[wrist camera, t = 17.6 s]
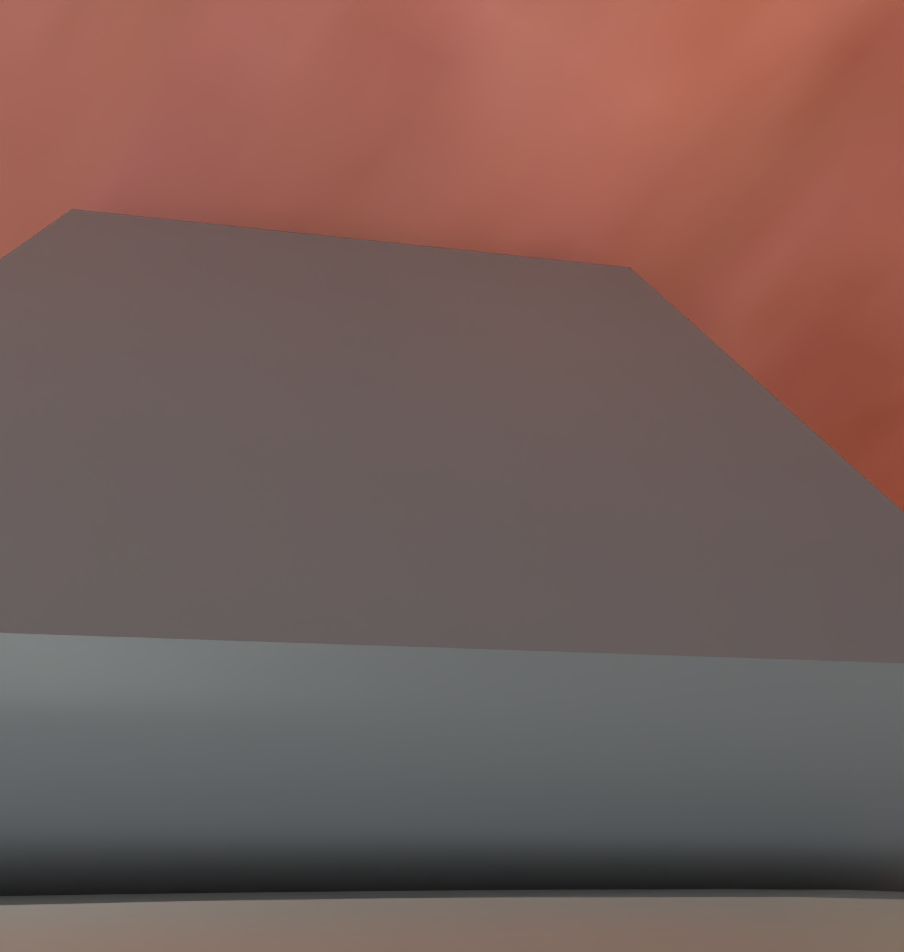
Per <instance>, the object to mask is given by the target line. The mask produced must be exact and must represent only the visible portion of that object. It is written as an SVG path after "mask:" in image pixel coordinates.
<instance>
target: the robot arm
mask: <svg viewBox="0 0 904 952" xmlns="http://www.w3.org/2000/svg"><path fill="white" fill-rule="evenodd" d="M0 952H904V892H895V891H868V890H778V889H614V890H445V891H337V892H243V893H170V894H104V895H39V896H0Z"/></svg>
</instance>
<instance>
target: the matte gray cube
mask: <svg viewBox="0 0 904 952" xmlns="http://www.w3.org/2000/svg"><path fill="white" fill-rule="evenodd" d="M614 889H778V890H868V891H895V892H904V512H903V511H902V510H901V509H900V508H898V507H897V506H896V505H895V504H894V503H893V502H892V501H891V500H889V499H888V498H887V497H886V496H885V495H884V494H883V493H882V492H881V491H879V490H878V489H877V488H876V487H875V486H874V485H873V484H872V483H870V482H869V481H868V480H867V479H866V478H865V477H864V476H863V475H862V474H860V473H859V472H858V471H857V470H856V469H855V468H854V467H853V466H851V465H850V464H849V463H848V462H847V461H846V460H845V459H844V458H843V457H841V456H840V455H839V454H838V453H837V452H836V451H835V450H834V449H832V448H831V447H830V446H829V445H828V444H827V443H826V442H825V441H824V440H822V439H821V438H820V437H819V436H818V435H817V434H816V433H815V432H813V431H812V430H811V429H810V428H809V427H808V426H807V425H806V424H805V423H803V422H802V421H801V420H800V419H799V418H798V417H797V416H796V415H794V414H793V413H792V412H791V411H790V410H789V409H788V408H787V407H786V406H784V405H783V404H782V403H781V402H780V401H779V400H778V399H777V398H775V397H774V396H773V395H772V394H771V393H770V392H769V391H768V390H767V389H765V388H764V387H763V386H762V385H761V384H760V383H759V382H758V381H756V380H755V379H754V378H753V377H752V376H751V375H750V374H749V373H748V372H746V371H745V370H744V369H743V368H742V367H741V366H740V365H739V364H737V363H736V362H735V361H734V360H733V359H732V358H731V357H730V356H728V355H727V354H726V353H725V352H724V351H723V350H722V349H721V348H720V347H718V346H717V345H716V344H715V343H714V342H713V341H712V340H711V339H709V338H708V337H707V336H706V335H705V334H704V333H703V332H702V331H701V330H699V329H698V328H697V327H696V326H695V325H694V324H693V323H692V322H690V321H689V320H688V319H687V318H686V317H685V316H684V315H683V314H682V313H680V312H679V311H678V310H677V309H676V308H675V307H674V306H673V305H671V304H670V303H669V302H668V301H667V300H666V299H665V298H664V297H663V296H661V295H660V294H659V293H658V292H657V291H656V290H655V289H654V288H652V287H651V286H650V285H649V284H648V283H647V282H646V281H645V280H644V279H642V278H641V277H640V276H639V275H638V274H637V273H636V272H635V271H633V270H632V269H631V268H629V267H620V266H610V265H601V264H591V263H581V262H572V261H562V260H553V259H543V258H534V257H524V256H514V255H505V254H495V253H486V252H476V251H467V250H457V249H448V248H438V247H428V246H419V245H409V244H400V243H390V242H381V241H371V240H361V239H352V238H342V237H333V236H323V235H314V234H304V233H294V232H285V231H275V230H266V229H256V228H247V227H237V226H228V225H218V224H208V223H199V222H189V221H180V220H170V219H161V218H151V217H141V216H132V215H122V214H113V213H103V212H94V211H84V210H74V209H72V210H70V211H69V212H67V213H66V214H64V215H63V216H62V217H60V218H59V219H57V220H56V221H54V222H53V223H52V224H50V225H49V226H47V227H46V228H44V229H43V230H42V231H40V232H39V233H37V234H36V235H34V236H33V237H32V238H30V239H29V240H27V241H26V242H24V243H23V244H22V245H20V246H19V247H17V248H16V249H14V250H13V251H12V252H10V253H9V254H7V255H6V256H5V257H3V258H2V259H0V896H39V895H104V894H170V893H243V892H337V891H445V890H614Z"/></svg>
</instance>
